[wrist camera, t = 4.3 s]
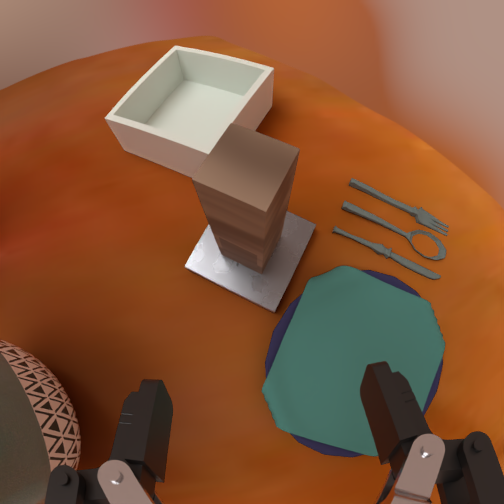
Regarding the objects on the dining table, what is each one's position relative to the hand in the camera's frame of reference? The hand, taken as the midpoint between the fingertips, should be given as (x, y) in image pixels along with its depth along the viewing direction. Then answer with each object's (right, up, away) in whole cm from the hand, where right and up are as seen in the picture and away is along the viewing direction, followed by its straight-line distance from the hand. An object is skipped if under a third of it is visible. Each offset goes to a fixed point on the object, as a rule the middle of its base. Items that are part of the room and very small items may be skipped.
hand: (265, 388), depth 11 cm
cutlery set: (+13, -2, +20) cm, 23 cm away
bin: (-8, +22, +26) cm, 35 cm away
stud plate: (-1, +5, +21) cm, 22 cm away
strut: (-1, +6, +20) cm, 21 cm away
